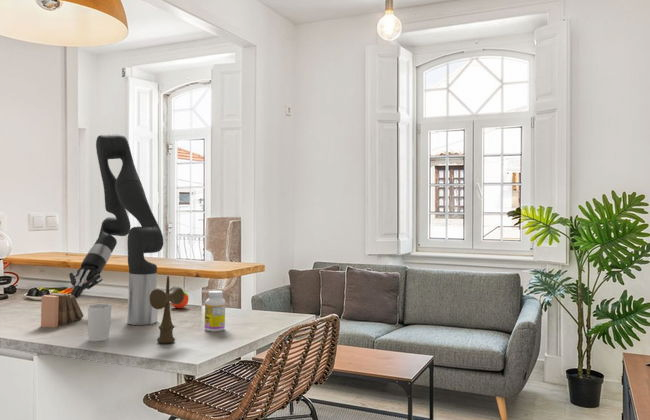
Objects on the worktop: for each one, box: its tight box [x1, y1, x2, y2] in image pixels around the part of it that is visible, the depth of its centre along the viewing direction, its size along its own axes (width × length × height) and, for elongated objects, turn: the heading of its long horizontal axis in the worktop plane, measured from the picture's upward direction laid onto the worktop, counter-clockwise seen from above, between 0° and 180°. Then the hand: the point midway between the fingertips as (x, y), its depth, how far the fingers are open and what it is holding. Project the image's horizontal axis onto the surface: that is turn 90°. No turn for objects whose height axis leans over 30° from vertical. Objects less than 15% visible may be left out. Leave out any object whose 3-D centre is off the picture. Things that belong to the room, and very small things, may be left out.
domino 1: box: [40, 294, 59, 328], centre depth 179 cm, size 2×5×10 cm, turn 78°
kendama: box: [150, 275, 185, 345], centre depth 164 cm, size 6×10×20 cm, turn 157°
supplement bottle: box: [204, 290, 226, 333], centre depth 182 cm, size 7×7×13 cm
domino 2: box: [48, 292, 68, 326], centre depth 183 cm, size 2×5×10 cm, turn 77°
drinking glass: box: [87, 303, 112, 342], centre depth 165 cm, size 7×7×10 cm
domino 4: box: [70, 294, 85, 320], centre depth 189 cm, size 2×5×10 cm
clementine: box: [170, 290, 190, 309], centre depth 217 cm, size 8×7×7 cm
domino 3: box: [56, 292, 77, 323], centre depth 186 cm, size 2×5×10 cm, turn 77°
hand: (74, 296), depth 191 cm, fingers closed
